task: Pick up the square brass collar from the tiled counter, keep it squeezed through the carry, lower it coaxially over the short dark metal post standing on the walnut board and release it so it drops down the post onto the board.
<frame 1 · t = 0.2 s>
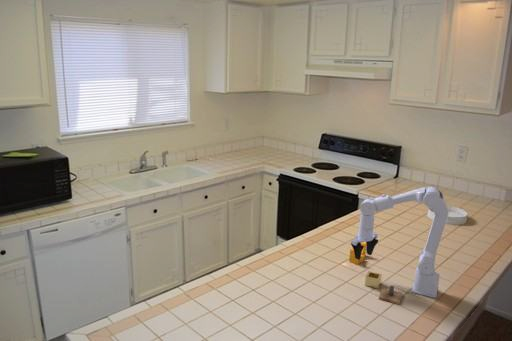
hand: (363, 256, 187), 10 cm above the worktop, fingers open, 7 cm apart
dish: (446, 218, 266), on the worktop
shaft block: (390, 297, 175), on the worktop
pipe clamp: (359, 259, 207), on the worktop
collar: (372, 284, 184), on the worktop
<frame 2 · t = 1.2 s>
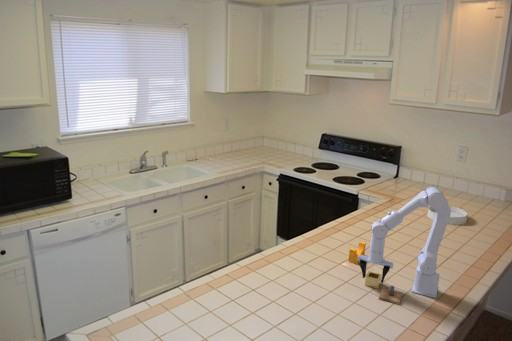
hand: (373, 279, 184), 2 cm above the worktop, fingers open, 7 cm apart
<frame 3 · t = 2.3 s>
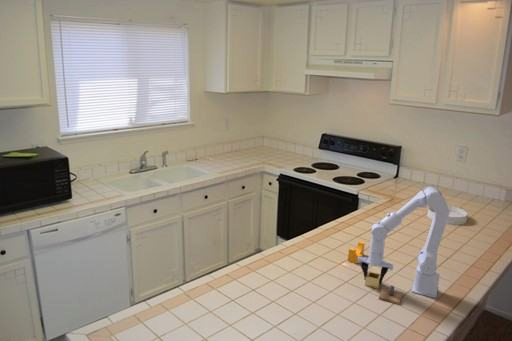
hand: (373, 281, 184), 1 cm above the worktop, fingers closed on collar, 6 cm apart
collar: (372, 284, 184), on the worktop, touching gripper
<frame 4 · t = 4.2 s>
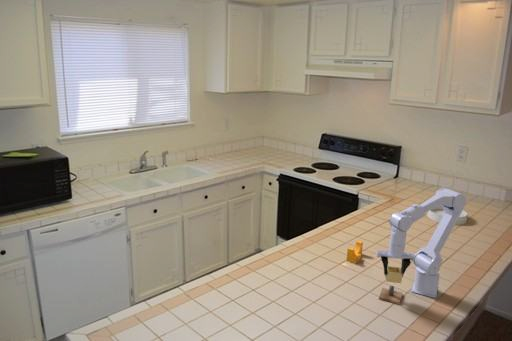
hand: (393, 274, 172), 10 cm above the worktop, fingers closed on collar, 6 cm apart
collar: (392, 278, 173), point 8 cm above the worktop, touching gripper
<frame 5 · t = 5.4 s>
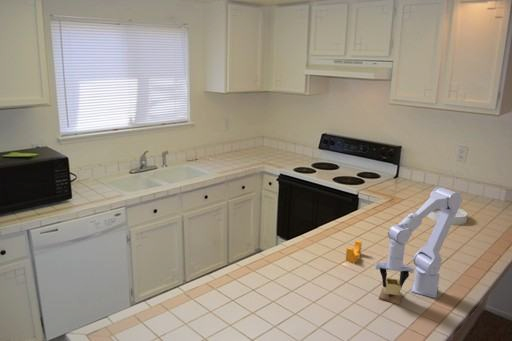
hand: (391, 286, 174), 5 cm above the worktop, fingers closed on collar, 6 cm apart
collar: (391, 290, 174), point 3 cm above the worktop, touching gripper
when the fingers open (4 cm above the worktop, at t = 6.5 s): collar drops 2 cm, resting on shaft block.
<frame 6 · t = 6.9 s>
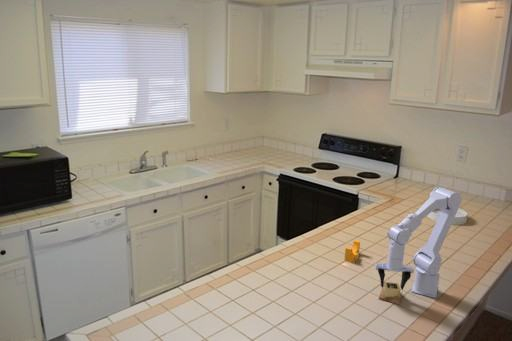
hand: (391, 287, 174), 4 cm above the worktop, fingers open, 7 cm apart
collar: (391, 294, 175), point 1 cm above the worktop, touching shaft block
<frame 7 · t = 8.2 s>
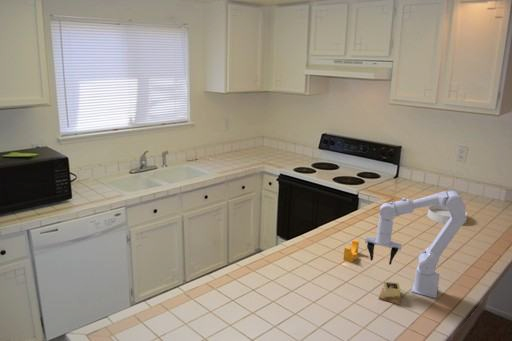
hand: (380, 261, 183), 10 cm above the worktop, fingers open, 7 cm apart
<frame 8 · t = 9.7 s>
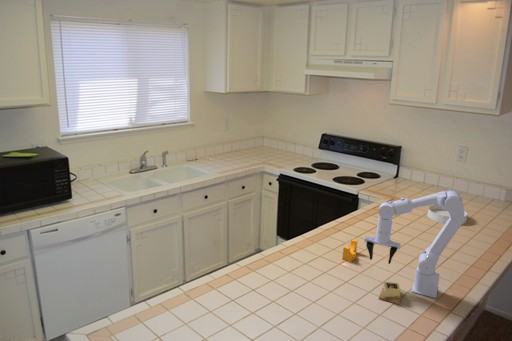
hand: (380, 260, 184), 10 cm above the worktop, fingers open, 7 cm apart
at the end: collar 0.1 cm off-centre on the shaft block, point 1.0 cm above the shaft block's base; the gripper is holding nothing; collar tilted 0° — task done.
